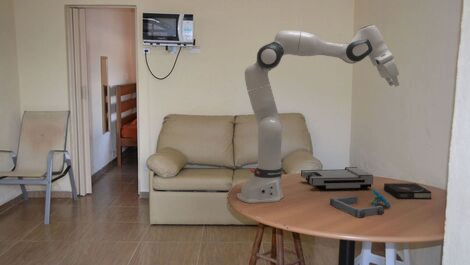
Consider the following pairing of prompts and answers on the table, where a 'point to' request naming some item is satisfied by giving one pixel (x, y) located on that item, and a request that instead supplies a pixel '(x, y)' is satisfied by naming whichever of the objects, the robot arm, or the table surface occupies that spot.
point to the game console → (339, 179)
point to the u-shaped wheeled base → (362, 212)
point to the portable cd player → (407, 191)
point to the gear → (379, 199)
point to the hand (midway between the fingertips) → (394, 85)
